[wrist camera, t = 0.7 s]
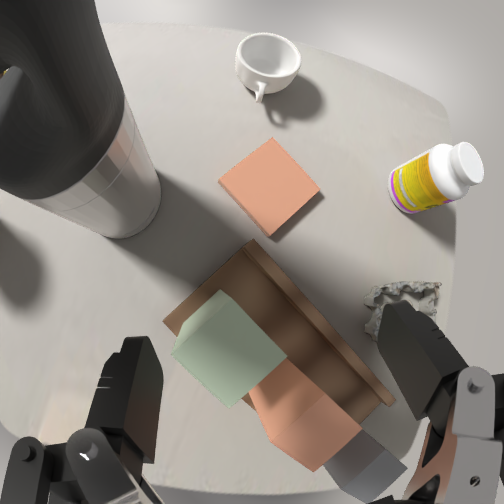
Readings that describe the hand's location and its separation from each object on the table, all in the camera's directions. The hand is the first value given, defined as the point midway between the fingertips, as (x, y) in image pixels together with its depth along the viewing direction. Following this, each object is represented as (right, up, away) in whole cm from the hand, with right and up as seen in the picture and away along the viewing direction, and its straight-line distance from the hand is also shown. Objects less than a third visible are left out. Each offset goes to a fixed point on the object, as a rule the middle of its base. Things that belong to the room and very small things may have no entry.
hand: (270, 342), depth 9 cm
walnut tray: (+3, -10, +22) cm, 24 cm away
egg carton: (+18, -5, +25) cm, 31 cm away
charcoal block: (+8, -18, +20) cm, 28 cm away
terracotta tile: (+1, +10, +23) cm, 25 cm away
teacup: (0, +24, +24) cm, 34 cm away
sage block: (-4, -4, +19) cm, 20 cm away
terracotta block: (+2, -11, +20) cm, 23 cm away
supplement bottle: (+20, +11, +27) cm, 35 cm away
